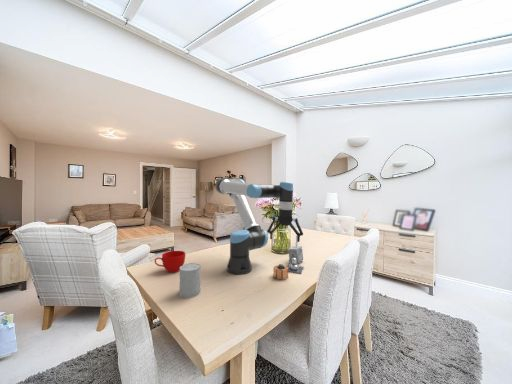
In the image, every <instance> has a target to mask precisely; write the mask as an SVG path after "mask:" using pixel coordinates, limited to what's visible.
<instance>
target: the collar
mask: <svg viewBox="0 0 512 384" xmlns="http://www.w3.org/2000/svg"><path fill="white" fill-rule="evenodd" d="M282 265H283V269H279V264H277V265H274V266H273V277H274V279H276V280H287V279H288V278H289V272H288V267H287V265H284V264H282Z"/></svg>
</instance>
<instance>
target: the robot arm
mask: <svg viewBox="0 0 512 384" xmlns="http://www.w3.org/2000/svg"><path fill="white" fill-rule="evenodd" d="M214 188H215V191H216V192H217V193H219V194H221V195H229V197H230V199H231V200H233V201H234V204H235V205H234V206H235V207H236V210H237V212H238V214H239V217H240V220H241V222H242V225H243V227H244V229H237V230H235V231H232V232H231V234H230V236H229V237H230V238H229V242H230V243H229V244H230V246H229V249H230V250H229V251H230V252H229V259H228V262H227V265H226V272H228V273H229V274H234V275H245V274H248V273H251V272H252V270H253V265H252V261H251V258H250V251H253V250H258V249H262V248H263V247H264V248H265V246H267V244H268V242H269V240H271V246H272V247H273V246H274V245H275V233H274V232H275V231H276V230H277V229H278V228H279V227H280V226H286V227H288V226H289V227H290V228H291V230H293V232H294V233H295V235H296V236H295V246H296V248H297V246H299V245H298V243H300V238H301V236H303V235H304V232H303V230H302V228H301V226H300V224H299V219H298V218H297V217H296V218H294V217H293V207H294V206H293V198H294V197H293V196H294V183H293V182H291V181H280V182H279V185H278V184H277V185H276V184H256V183H246V182H245V181H244V180H243V179H241V178H237V177H236V178H232V177H221V178H219V179H218V180H216V182H215V186H214ZM246 197H249V198H250V199H261V198H262V199H265V198H267V199H269V198H270V199H273V198H274V199H279V202H278V203H279V204H278V208H279V210H278V217H277V216H273V218H272V221H271V223H270V226H269V227H268V229H267V231H266V230H265V229H263V228H262V227H261V224H259V223H257V221H256V219H255V216H254V214H253V212H252V209H251V207H250V204H249V202H248V199H247V198H246ZM276 221H278V223H277V224H276V226H275V227H274V228H273V226H274V224H275V223H276ZM292 222H293V223H295V225H296V226H295V225H293V223H292ZM296 227H297V228H296ZM297 229H298V230H297ZM268 233H269V234H270V235H269V234H268Z"/></svg>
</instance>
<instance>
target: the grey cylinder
mask: <svg viewBox="0 0 512 384" xmlns="http://www.w3.org/2000/svg"><path fill="white" fill-rule="evenodd" d="M201 270H202V269H201V264H199V263H196V262H195V263H194V262H193V263H184V264H183V265H182V266H180V270H179V296H180V297H181V298H184V299H190V298H194V297H197V296H199V294H201V292H202V291H201Z"/></svg>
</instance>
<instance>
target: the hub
mask: <svg viewBox="0 0 512 384" xmlns="http://www.w3.org/2000/svg"><path fill="white" fill-rule="evenodd" d="M286 266H287V267H288V273H292V272H293V273H294V274H298V273H299V274H301V275H302V272H303V271H302V270H304V268H305V267H304V266H301V265H300V263H298V264H297V263H296V258H292V263H289V264H287V265H286ZM293 273H292V274H293Z"/></svg>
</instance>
